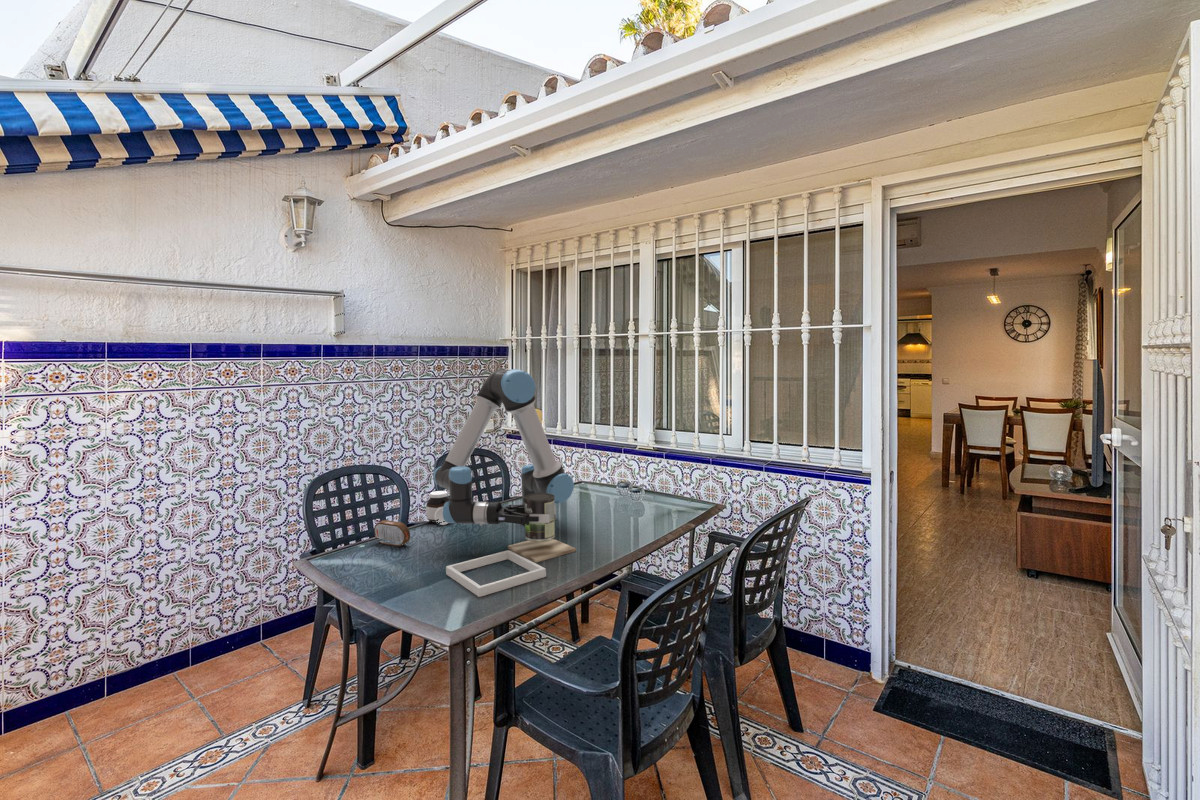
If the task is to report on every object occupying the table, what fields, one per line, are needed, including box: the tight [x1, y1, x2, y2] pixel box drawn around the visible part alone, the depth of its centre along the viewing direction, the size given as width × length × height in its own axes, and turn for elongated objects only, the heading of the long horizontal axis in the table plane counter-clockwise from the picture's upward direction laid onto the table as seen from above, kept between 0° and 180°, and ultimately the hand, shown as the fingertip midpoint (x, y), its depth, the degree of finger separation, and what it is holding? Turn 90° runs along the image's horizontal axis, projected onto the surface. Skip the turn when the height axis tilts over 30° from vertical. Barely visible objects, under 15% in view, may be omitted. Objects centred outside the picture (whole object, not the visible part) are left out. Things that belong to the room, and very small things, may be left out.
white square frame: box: [445, 549, 547, 598], centre depth 171 cm, size 22×22×2 cm
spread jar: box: [425, 490, 450, 526], centre depth 229 cm, size 12×11×12 cm
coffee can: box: [524, 493, 556, 542], centre depth 192 cm, size 10×10×14 cm
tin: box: [373, 519, 411, 547], centre depth 202 cm, size 15×3×8 cm, turn 65°
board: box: [507, 538, 577, 563], centre depth 193 cm, size 18×16×1 cm
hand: (552, 514), depth 192 cm, fingers closed on coffee can, 10 cm apart
